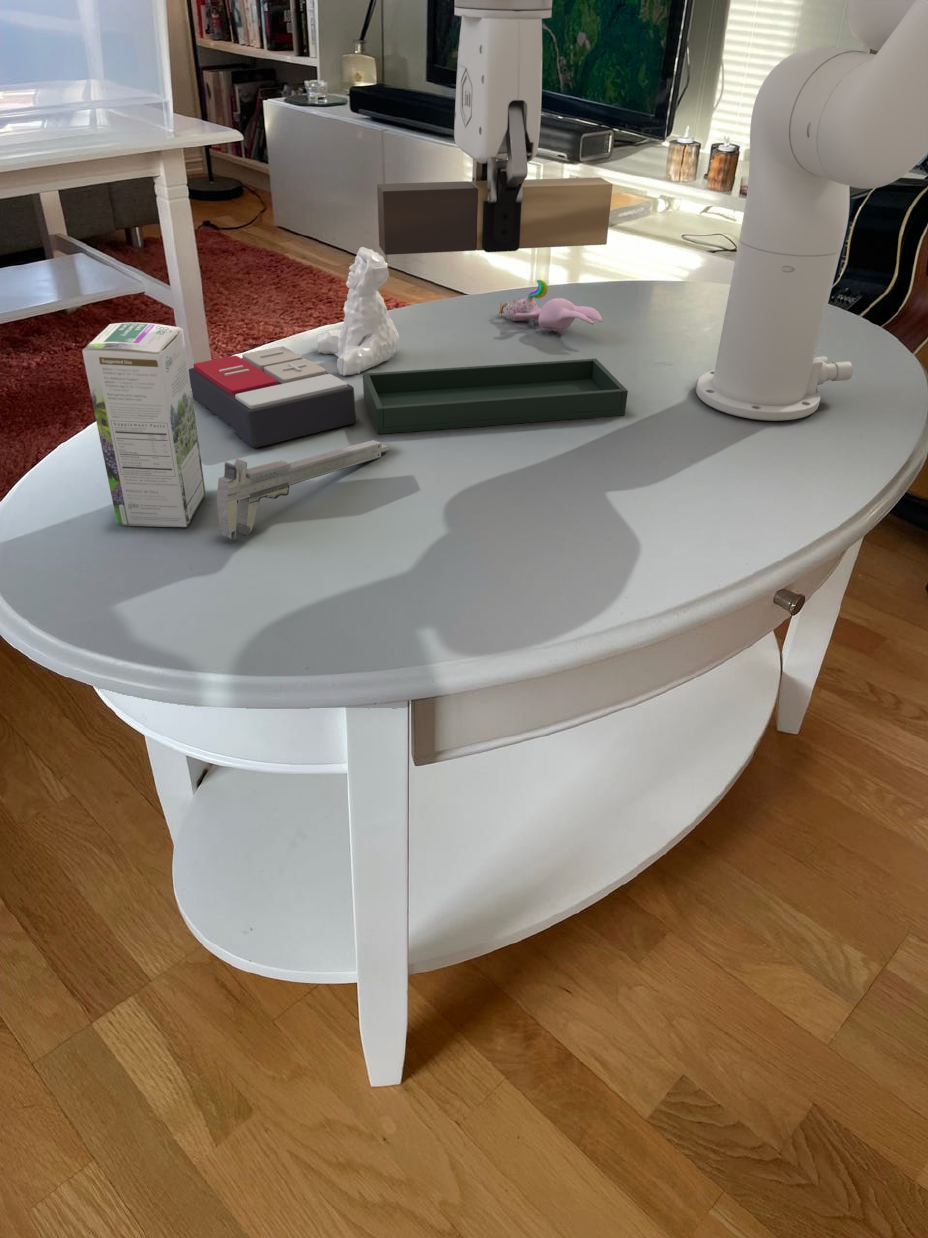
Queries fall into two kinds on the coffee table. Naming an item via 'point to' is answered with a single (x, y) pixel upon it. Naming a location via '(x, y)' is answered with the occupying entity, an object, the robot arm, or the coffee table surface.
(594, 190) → the two-tone wooden beam
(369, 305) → the sitting furry creature
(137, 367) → the syrup box
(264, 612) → the coffee table surface
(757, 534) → the coffee table surface
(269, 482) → the caliper
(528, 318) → the rabbit figure
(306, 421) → the calculator
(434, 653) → the coffee table surface
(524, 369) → the tray
